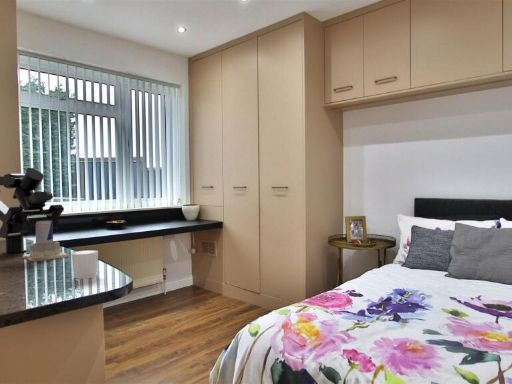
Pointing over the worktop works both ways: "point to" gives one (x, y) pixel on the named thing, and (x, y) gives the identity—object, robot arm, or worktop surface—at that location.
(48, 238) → the energy drink
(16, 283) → the worktop surface
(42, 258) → the cup bracket
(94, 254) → the white cup
